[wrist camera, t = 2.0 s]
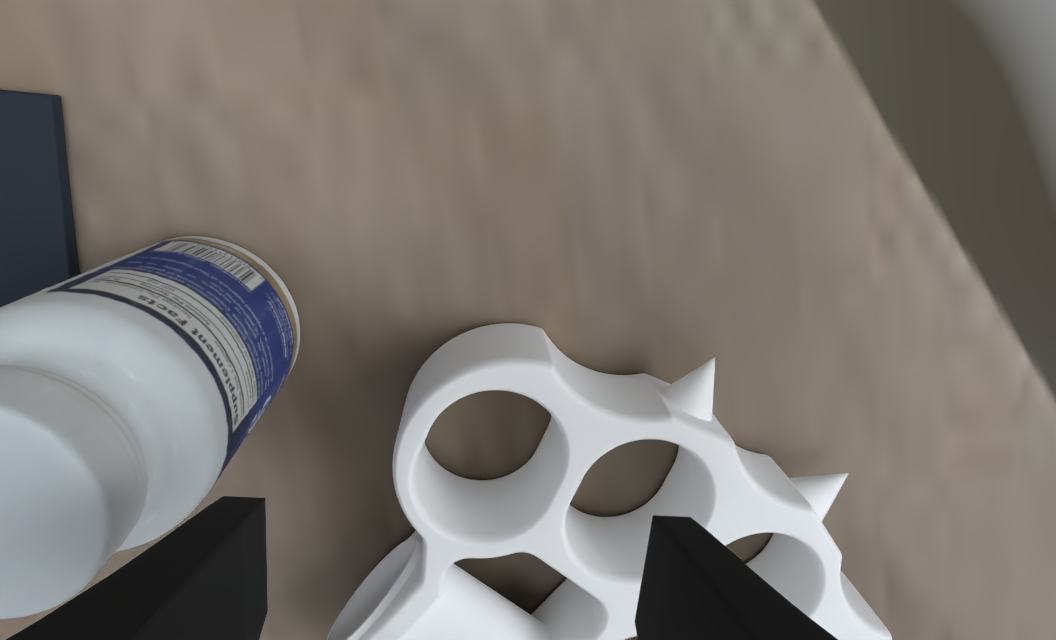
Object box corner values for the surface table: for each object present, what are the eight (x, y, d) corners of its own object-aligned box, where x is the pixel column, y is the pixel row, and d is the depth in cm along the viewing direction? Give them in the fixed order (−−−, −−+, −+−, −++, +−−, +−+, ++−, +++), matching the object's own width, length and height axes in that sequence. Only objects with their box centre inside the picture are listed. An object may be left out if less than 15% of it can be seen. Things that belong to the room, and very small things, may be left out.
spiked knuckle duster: (256, 555, 22) (552, 211, 19) (647, 795, 26) (932, 543, 24) (218, 630, 19) (566, 232, 16) (671, 890, 23) (1003, 611, 21)
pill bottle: (174, 433, 21) (-76, 701, 11) (75, 274, 19) (-310, 434, 10) (336, 370, 20) (218, 590, 11) (251, 203, 19) (28, 298, 9)
